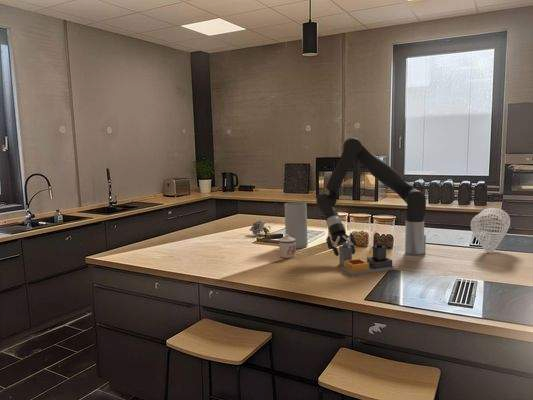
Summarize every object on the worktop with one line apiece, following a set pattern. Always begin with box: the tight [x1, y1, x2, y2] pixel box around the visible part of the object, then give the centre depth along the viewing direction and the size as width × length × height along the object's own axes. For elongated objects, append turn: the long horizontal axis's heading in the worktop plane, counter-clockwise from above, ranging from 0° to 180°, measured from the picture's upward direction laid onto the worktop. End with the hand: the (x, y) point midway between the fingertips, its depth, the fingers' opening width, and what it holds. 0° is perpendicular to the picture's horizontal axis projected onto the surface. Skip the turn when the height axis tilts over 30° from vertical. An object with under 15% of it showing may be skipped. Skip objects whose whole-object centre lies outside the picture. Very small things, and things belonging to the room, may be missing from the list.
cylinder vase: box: [284, 201, 309, 250], centre depth 242 cm, size 12×12×25 cm
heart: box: [470, 207, 511, 254], centre depth 213 cm, size 28×16×22 cm, turn 142°
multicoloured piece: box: [341, 241, 395, 276], centre depth 195 cm, size 22×9×12 cm, turn 105°
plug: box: [338, 241, 353, 267], centre depth 204 cm, size 4×4×11 cm
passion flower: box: [248, 219, 271, 237], centre depth 276 cm, size 11×11×12 cm
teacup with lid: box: [278, 233, 297, 259], centre depth 225 cm, size 12×9×12 cm
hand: (345, 254), depth 204 cm, fingers open, 8 cm apart
